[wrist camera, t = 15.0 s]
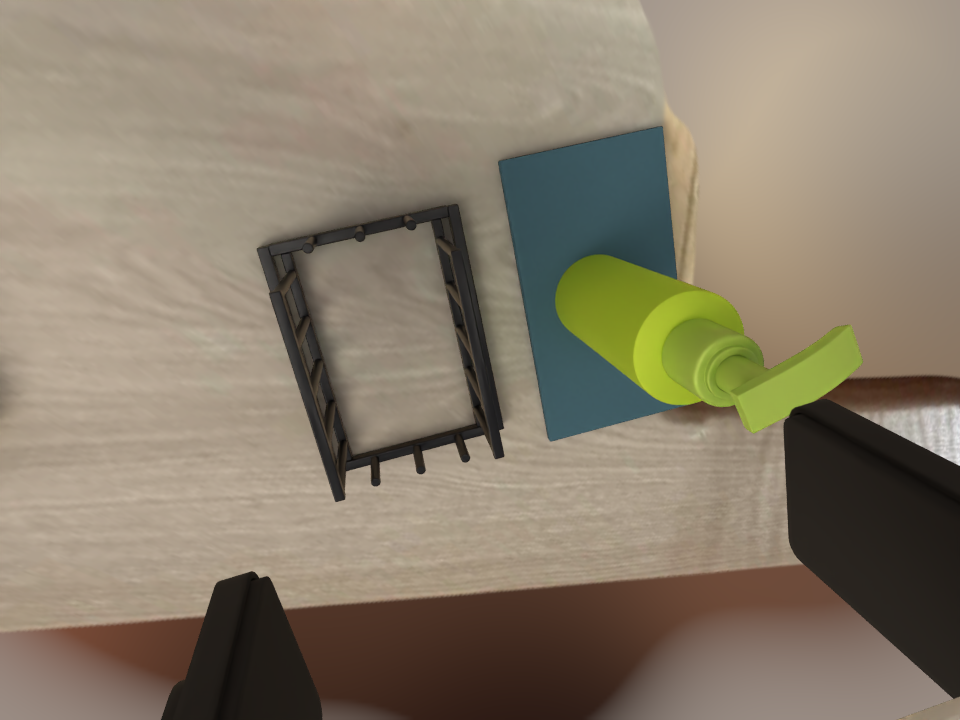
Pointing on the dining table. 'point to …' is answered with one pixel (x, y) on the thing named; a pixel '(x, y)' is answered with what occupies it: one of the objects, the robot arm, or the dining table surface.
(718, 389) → the soap dispenser
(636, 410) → the drying mat
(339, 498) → the dish rack
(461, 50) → the dining table surface
